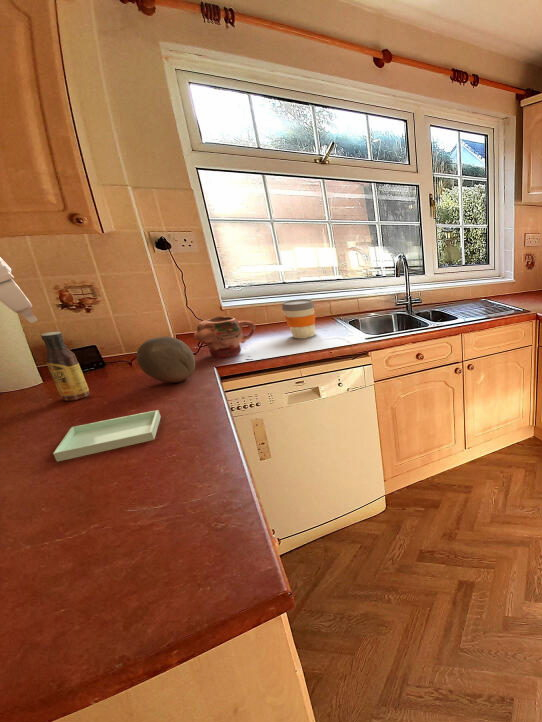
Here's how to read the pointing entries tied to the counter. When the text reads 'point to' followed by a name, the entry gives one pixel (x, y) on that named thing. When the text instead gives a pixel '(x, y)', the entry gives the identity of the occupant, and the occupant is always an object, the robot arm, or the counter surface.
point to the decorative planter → (223, 335)
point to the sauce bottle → (64, 368)
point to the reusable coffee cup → (300, 317)
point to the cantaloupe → (166, 359)
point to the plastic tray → (108, 435)
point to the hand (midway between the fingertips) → (28, 316)
